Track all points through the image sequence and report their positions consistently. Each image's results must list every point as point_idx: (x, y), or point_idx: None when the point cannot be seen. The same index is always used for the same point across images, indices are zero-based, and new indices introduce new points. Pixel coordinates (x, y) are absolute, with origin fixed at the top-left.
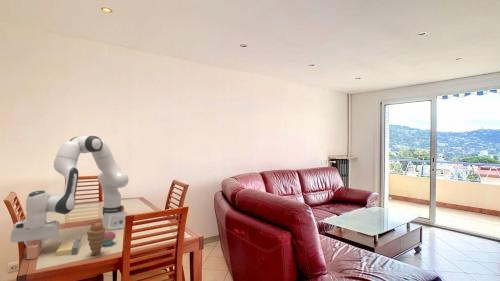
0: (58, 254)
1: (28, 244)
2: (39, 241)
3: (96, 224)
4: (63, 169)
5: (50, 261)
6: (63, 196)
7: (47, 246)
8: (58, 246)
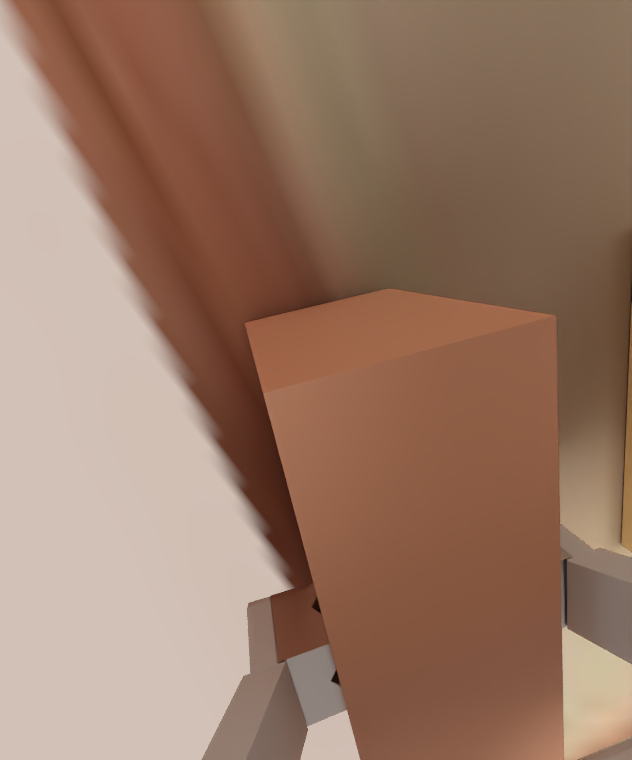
0: None
1: (285, 703)
2: (525, 577)
3: None
4: None
5: (596, 659)
6: None
7: (408, 105)
8: None
